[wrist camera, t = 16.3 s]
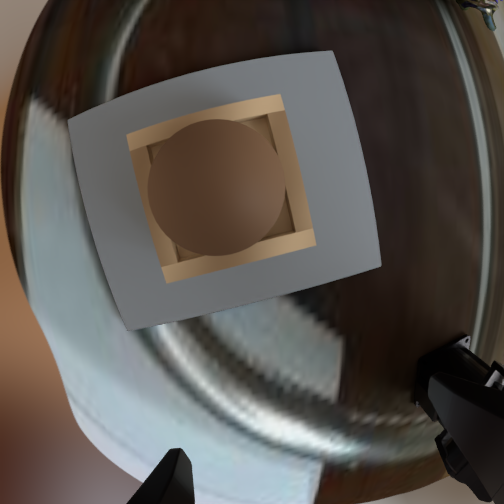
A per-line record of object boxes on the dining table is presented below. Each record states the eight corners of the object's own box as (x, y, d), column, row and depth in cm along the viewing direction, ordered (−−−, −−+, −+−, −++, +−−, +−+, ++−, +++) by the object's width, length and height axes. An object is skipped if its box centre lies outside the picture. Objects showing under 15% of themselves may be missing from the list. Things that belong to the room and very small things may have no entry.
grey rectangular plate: (328, 56, 17) (333, 50, 15) (375, 262, 20) (382, 266, 19) (74, 122, 16) (66, 119, 15) (131, 325, 20) (126, 331, 19)
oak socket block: (266, 117, 16) (280, 93, 12) (294, 229, 18) (316, 245, 13) (152, 147, 16) (126, 134, 12) (182, 258, 18) (166, 283, 13)
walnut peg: (255, 134, 13) (268, 106, 8) (274, 219, 14) (297, 238, 9) (169, 155, 13) (135, 140, 8) (189, 239, 14) (167, 269, 9)
